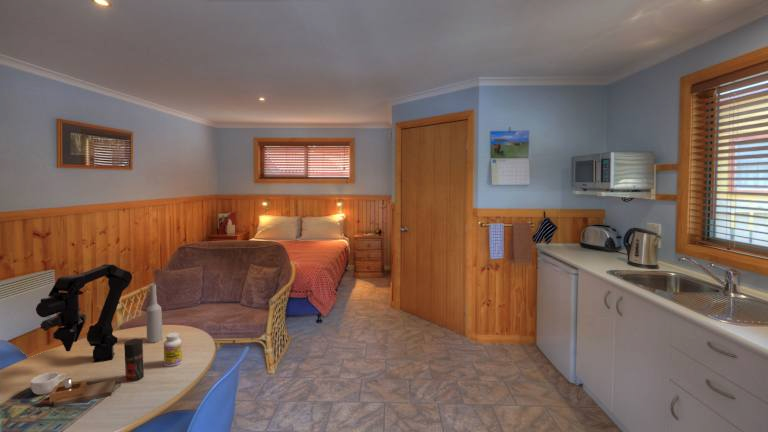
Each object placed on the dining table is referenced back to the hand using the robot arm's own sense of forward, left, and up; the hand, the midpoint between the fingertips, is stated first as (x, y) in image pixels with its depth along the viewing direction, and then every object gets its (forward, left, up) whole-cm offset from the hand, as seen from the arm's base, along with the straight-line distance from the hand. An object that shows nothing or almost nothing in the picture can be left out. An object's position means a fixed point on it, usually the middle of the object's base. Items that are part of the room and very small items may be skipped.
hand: (71, 346), depth 145 cm
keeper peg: (-3, +19, -10) cm, 22 cm away
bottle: (-26, -24, -12) cm, 37 cm away
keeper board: (-8, +19, -12) cm, 24 cm away
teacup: (+5, +9, -12) cm, 16 cm away
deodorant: (-22, +13, -12) cm, 28 cm away
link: (-3, +19, -10) cm, 22 cm away
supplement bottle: (-35, +6, -12) cm, 38 cm away
